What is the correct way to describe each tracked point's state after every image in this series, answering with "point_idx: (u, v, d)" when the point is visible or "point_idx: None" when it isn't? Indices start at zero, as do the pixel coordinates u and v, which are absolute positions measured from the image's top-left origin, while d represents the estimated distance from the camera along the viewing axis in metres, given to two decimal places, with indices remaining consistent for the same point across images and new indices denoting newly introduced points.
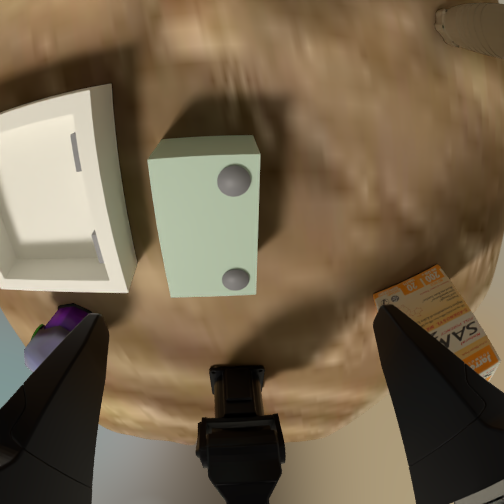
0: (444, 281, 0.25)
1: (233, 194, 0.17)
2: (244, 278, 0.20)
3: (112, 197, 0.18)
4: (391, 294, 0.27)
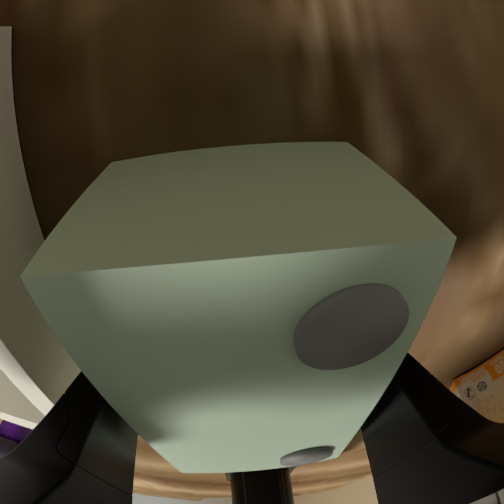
0: None
1: (342, 362, 0.05)
2: (324, 454, 0.08)
3: (19, 302, 0.06)
4: (477, 380, 0.16)
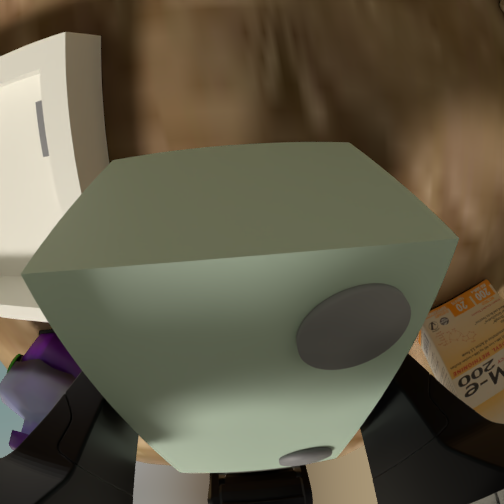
0: (496, 299, 0.19)
1: (344, 362, 0.05)
2: (323, 454, 0.08)
3: None
4: (439, 316, 0.21)
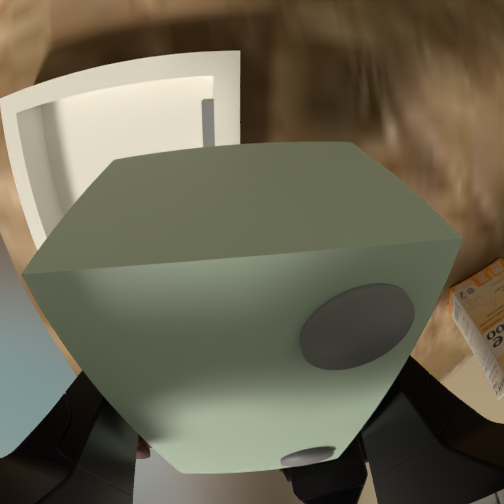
0: None
1: (347, 362, 0.05)
2: (325, 454, 0.08)
3: None
4: (466, 287, 0.25)
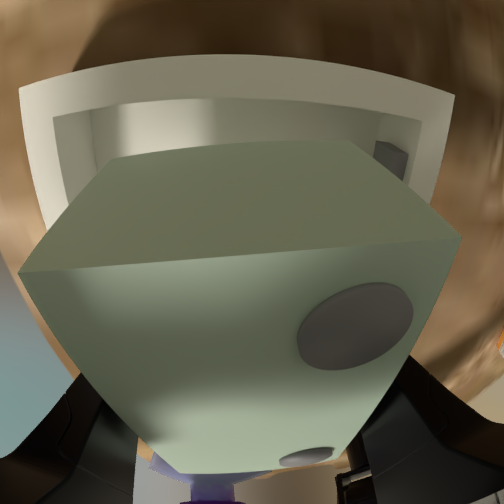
0: None
1: (345, 362, 0.05)
2: (324, 455, 0.08)
3: None
4: None
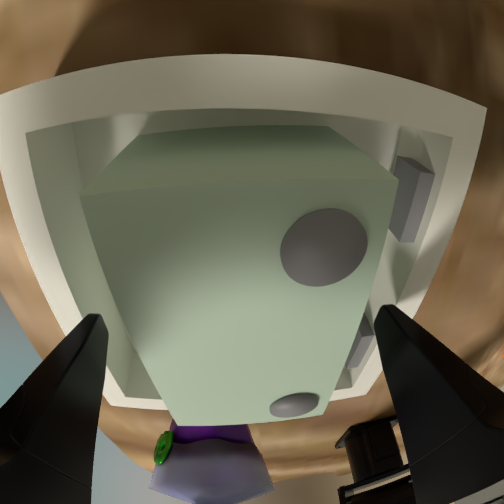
0: None
1: (318, 280, 0.06)
2: (310, 403, 0.10)
3: None
4: None
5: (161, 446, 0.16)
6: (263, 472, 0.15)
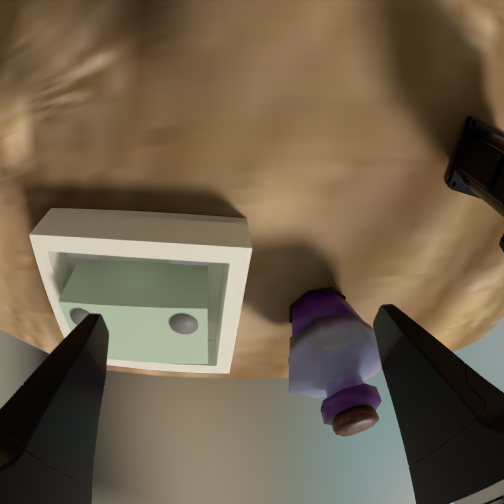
0: None
1: None
2: (181, 318, 0.18)
3: (135, 228, 0.18)
4: None
5: None
6: (321, 337, 0.20)
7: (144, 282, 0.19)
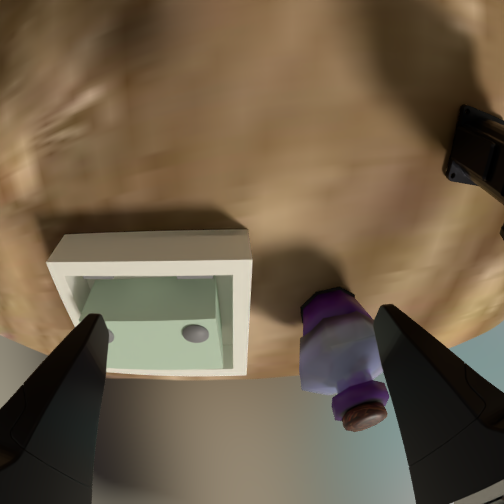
0: None
1: (112, 335, 0.19)
2: (192, 329, 0.19)
3: (142, 249, 0.19)
4: None
5: None
6: (328, 337, 0.21)
7: (157, 296, 0.21)
